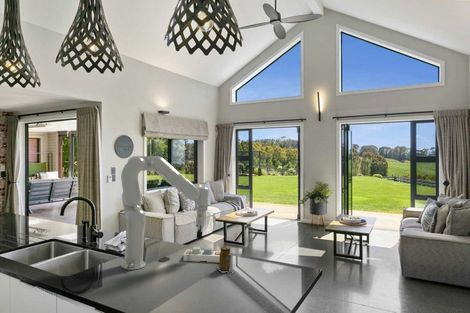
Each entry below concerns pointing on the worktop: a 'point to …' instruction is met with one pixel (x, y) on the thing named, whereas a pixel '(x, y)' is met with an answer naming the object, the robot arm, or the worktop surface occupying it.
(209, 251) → the key slate
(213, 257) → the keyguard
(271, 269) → the worktop surface
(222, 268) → the condiment
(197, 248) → the key sage
